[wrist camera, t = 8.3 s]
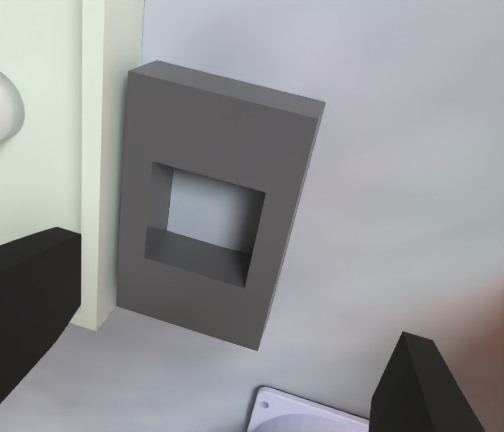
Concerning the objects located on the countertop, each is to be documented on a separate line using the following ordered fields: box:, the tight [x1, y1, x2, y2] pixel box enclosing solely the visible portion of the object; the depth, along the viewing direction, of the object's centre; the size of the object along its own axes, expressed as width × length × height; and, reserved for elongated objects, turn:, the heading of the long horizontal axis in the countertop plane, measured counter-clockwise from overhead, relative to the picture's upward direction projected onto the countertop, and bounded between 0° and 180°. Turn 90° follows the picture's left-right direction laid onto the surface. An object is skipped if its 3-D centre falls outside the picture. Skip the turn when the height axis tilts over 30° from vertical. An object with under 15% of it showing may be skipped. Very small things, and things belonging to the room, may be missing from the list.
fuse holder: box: [116, 61, 326, 351], centre depth 20 cm, size 11×7×2 cm, turn 169°
